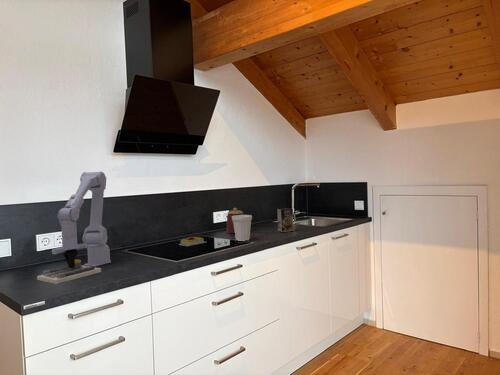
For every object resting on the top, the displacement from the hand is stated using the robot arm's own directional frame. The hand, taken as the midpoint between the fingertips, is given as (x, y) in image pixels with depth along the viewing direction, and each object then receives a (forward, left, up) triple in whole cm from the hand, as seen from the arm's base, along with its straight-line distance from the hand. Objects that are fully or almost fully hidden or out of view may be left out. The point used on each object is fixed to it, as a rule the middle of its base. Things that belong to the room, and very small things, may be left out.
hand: (71, 267), depth 155 cm
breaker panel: (0, 0, -3) cm, 3 cm away
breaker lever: (-2, 0, -1) cm, 3 cm away
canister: (-122, +1, -4) cm, 122 cm away
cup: (-96, +24, -3) cm, 98 cm away
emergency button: (-78, -1, -4) cm, 78 cm away
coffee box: (-136, +33, -4) cm, 139 cm away
